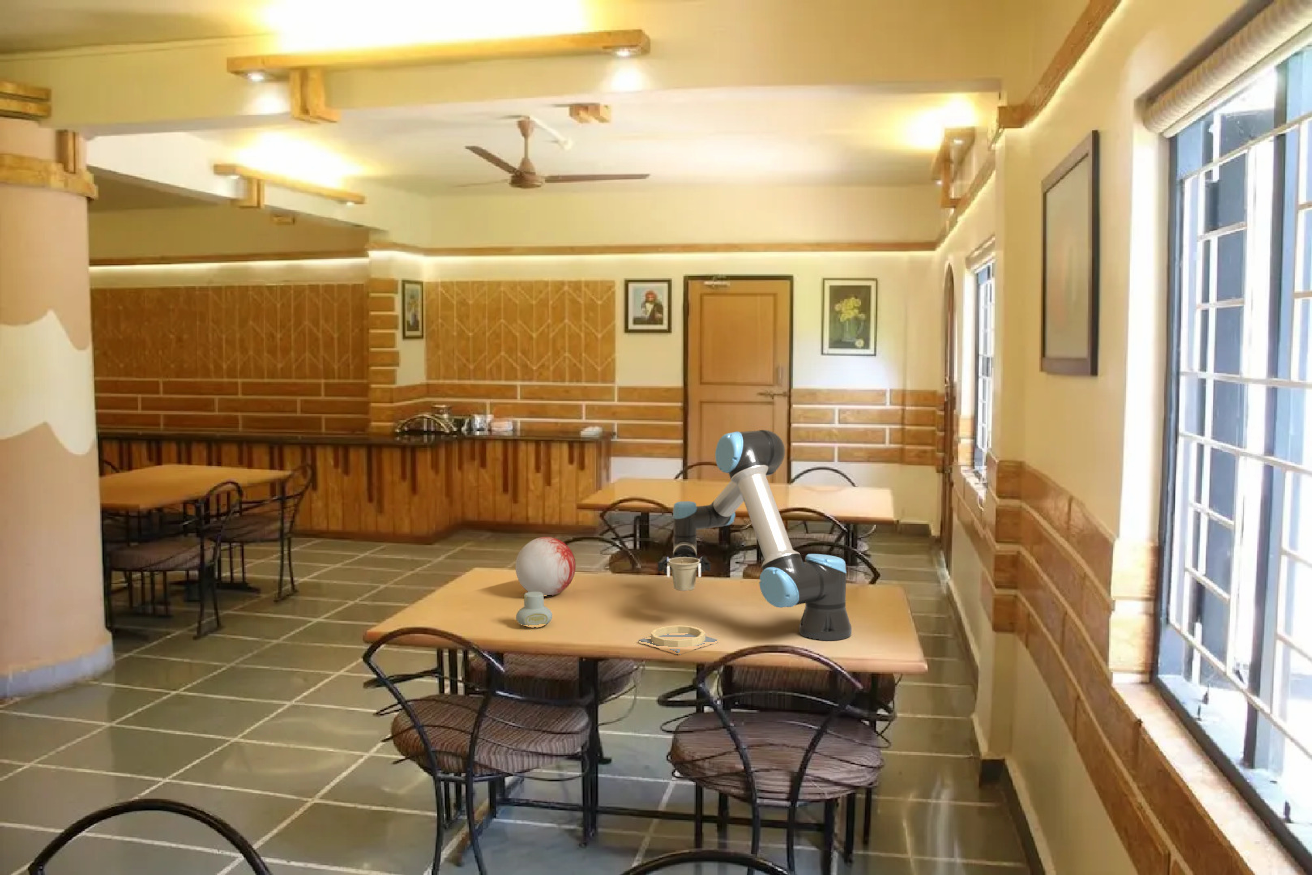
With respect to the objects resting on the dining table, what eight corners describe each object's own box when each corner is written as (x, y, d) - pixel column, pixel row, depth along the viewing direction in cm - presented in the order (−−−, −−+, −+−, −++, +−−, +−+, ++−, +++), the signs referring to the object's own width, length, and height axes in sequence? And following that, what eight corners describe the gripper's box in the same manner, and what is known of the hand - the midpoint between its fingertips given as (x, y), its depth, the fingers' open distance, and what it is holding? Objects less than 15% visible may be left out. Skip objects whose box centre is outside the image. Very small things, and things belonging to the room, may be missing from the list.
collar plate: (717, 642, 296) (717, 632, 296) (677, 655, 285) (677, 644, 285) (678, 631, 307) (678, 621, 307) (638, 643, 297) (638, 632, 296)
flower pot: (700, 592, 306) (700, 563, 306) (668, 592, 307) (668, 563, 306) (699, 584, 316) (699, 556, 315) (668, 585, 316) (668, 557, 315)
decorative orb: (547, 585, 367) (545, 529, 365) (588, 593, 354) (587, 536, 352) (502, 597, 351) (501, 539, 349) (544, 606, 338) (543, 546, 336)
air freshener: (518, 631, 310) (517, 598, 309) (514, 623, 318) (513, 591, 317) (554, 628, 313) (553, 595, 312) (549, 620, 321) (549, 589, 320)
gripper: (718, 567, 328) (720, 584, 306) (651, 567, 329) (648, 585, 307) (718, 544, 328) (720, 559, 305) (651, 544, 328) (647, 560, 306)
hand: (684, 572), depth 306 cm, fingers closed on flower pot, 8 cm apart
